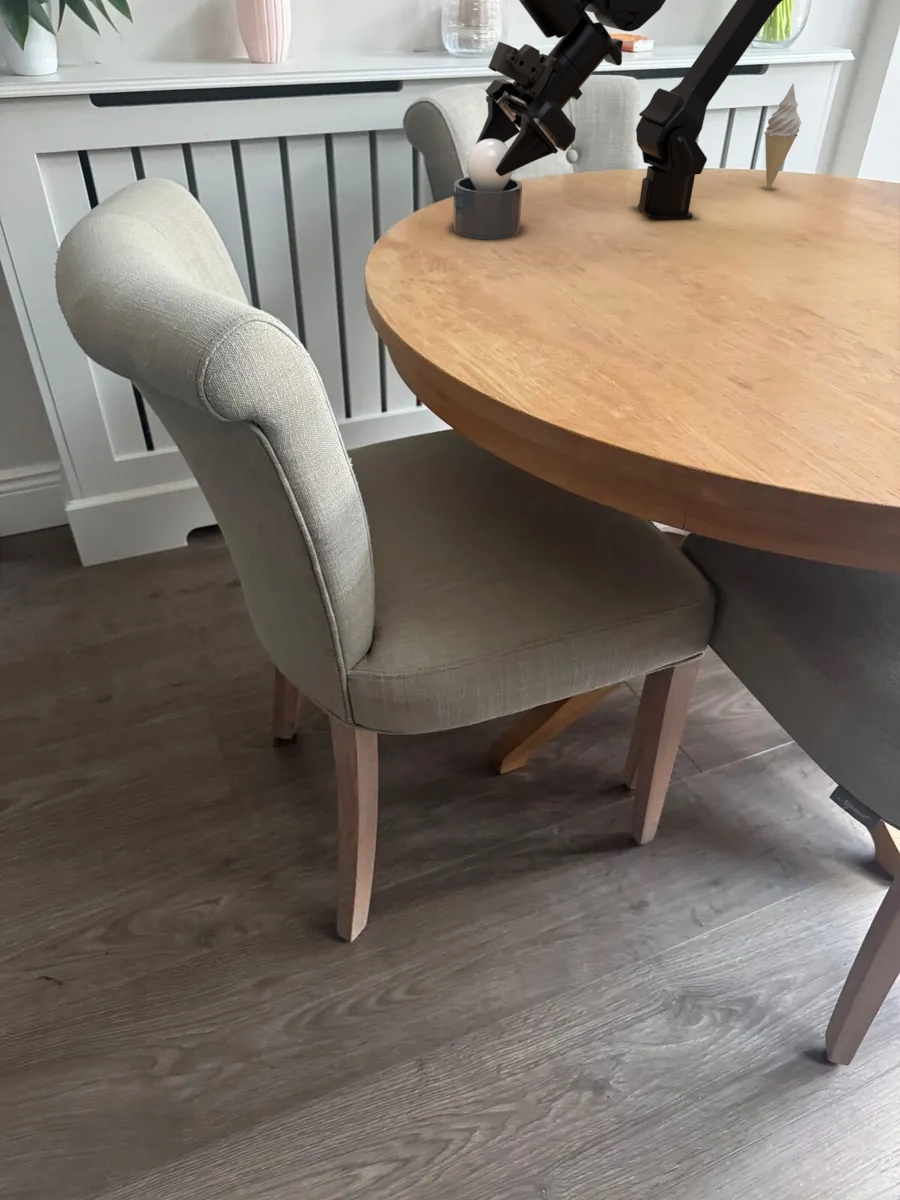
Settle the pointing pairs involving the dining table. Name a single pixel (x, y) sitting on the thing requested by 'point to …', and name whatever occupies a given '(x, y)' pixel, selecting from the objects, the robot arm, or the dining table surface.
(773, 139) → the ice cream cone
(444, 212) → the dining table surface
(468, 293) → the dining table surface
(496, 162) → the lightbulb
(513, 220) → the tube
